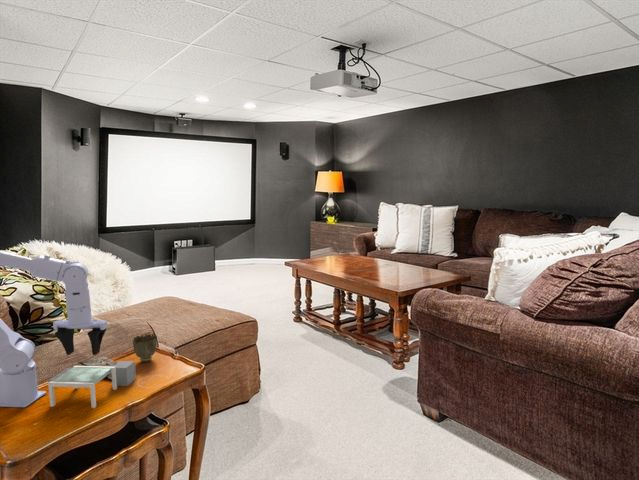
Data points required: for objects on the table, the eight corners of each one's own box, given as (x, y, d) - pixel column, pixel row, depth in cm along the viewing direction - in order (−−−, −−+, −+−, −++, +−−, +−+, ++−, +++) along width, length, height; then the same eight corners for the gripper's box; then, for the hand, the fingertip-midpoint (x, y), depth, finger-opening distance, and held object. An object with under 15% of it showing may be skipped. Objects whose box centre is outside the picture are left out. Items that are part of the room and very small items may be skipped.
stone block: (112, 385, 121) (111, 367, 121) (121, 378, 126) (119, 361, 125) (127, 386, 121) (126, 367, 120) (135, 378, 126) (134, 361, 125)
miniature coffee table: (50, 406, 110) (48, 382, 109) (76, 387, 120) (74, 365, 120) (94, 407, 109) (92, 384, 108) (117, 388, 119) (115, 366, 119)
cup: (138, 356, 142) (137, 333, 141) (161, 356, 142) (159, 333, 141) (130, 365, 135) (128, 341, 134) (153, 365, 135) (152, 341, 134)
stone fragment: (115, 386, 123) (143, 372, 132) (114, 377, 123) (143, 364, 131) (64, 367, 135) (94, 356, 144) (63, 359, 135) (93, 348, 144)
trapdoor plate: (48, 386, 110) (47, 380, 110) (69, 372, 119) (68, 367, 119) (93, 387, 109) (93, 382, 109) (111, 373, 118) (111, 368, 118)
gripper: (112, 302, 120) (115, 348, 122) (63, 302, 121) (68, 347, 123) (97, 309, 113) (101, 358, 115) (45, 309, 114) (51, 357, 116)
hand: (83, 353), depth 118 cm, fingers open, 7 cm apart
